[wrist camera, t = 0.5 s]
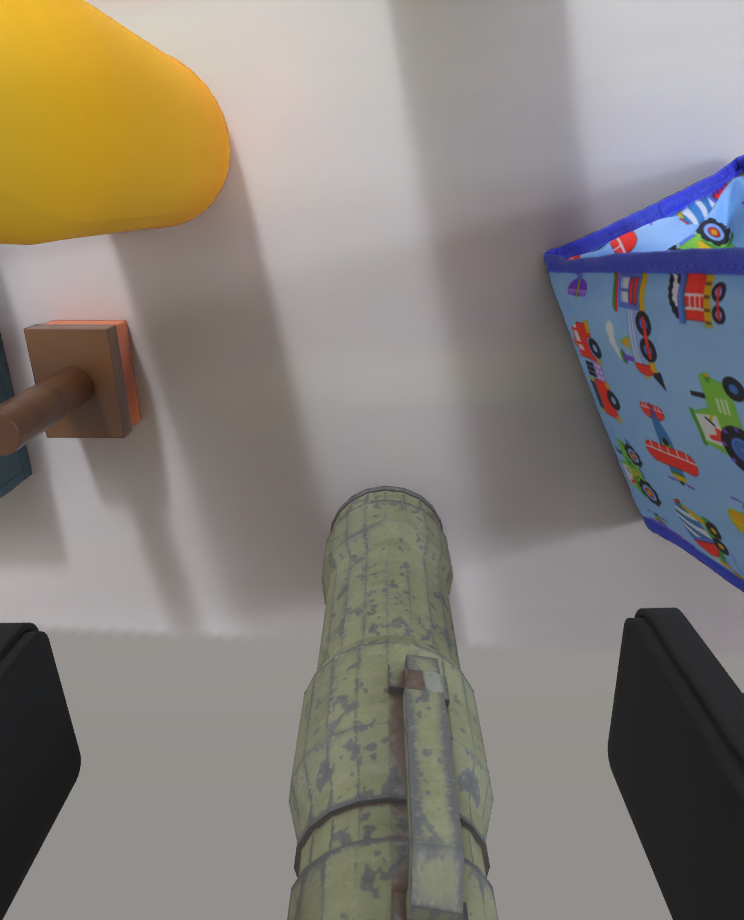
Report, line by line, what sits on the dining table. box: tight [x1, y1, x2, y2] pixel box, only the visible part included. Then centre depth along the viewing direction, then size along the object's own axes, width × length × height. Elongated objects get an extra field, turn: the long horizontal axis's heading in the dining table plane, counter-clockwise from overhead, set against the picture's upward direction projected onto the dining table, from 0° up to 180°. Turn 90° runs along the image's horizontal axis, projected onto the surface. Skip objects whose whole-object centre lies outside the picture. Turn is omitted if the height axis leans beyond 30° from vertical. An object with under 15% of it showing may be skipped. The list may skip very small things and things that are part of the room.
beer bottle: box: [0, 0, 230, 245], centre depth 25 cm, size 9×9×29 cm
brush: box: [0, 320, 141, 456], centre depth 38 cm, size 7×5×12 cm
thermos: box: [287, 486, 498, 920], centre depth 32 cm, size 9×12×35 cm
